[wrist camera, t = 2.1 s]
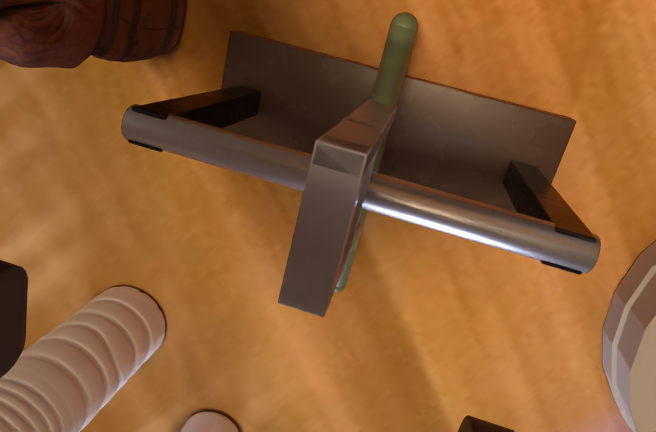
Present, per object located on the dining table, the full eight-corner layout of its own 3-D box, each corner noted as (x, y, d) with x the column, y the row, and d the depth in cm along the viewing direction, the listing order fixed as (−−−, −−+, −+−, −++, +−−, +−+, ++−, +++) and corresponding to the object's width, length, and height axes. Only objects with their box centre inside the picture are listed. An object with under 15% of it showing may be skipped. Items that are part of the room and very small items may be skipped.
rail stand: (238, 30, 35) (107, 20, 21) (571, 117, 32) (671, 171, 19) (219, 146, 37) (92, 204, 24) (524, 234, 35) (581, 355, 21)
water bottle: (124, 269, 42) (-263, 545, 19) (182, 325, 43) (-123, 659, 19) (68, 329, 45) (-323, 631, 22) (123, 380, 46) (-202, 727, 23)
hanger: (393, 9, 27) (353, -25, 14) (424, 17, 26) (412, -11, 14) (321, 282, 32) (245, 440, 19) (346, 289, 32) (286, 454, 19)
